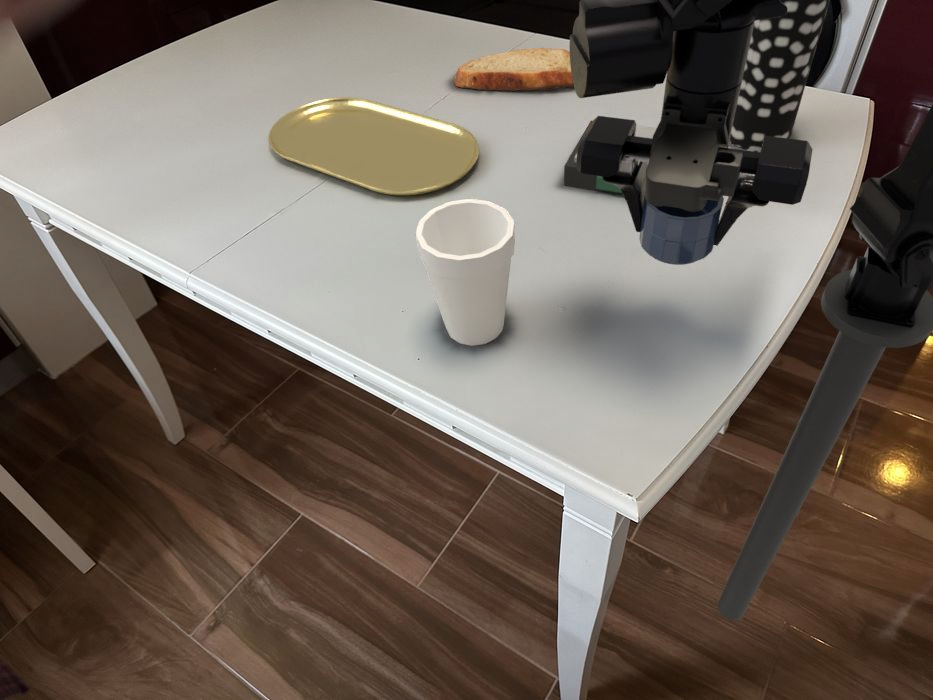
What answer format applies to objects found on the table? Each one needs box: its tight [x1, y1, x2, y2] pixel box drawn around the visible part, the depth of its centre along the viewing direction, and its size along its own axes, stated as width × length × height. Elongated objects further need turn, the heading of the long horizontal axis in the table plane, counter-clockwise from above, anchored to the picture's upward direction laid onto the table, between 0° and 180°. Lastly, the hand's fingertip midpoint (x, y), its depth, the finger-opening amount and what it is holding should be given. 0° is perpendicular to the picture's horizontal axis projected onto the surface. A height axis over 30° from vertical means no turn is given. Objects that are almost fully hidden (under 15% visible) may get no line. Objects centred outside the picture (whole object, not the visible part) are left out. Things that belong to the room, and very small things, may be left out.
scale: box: [563, 120, 657, 196], centre depth 91 cm, size 14×12×4 cm
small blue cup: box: [638, 196, 725, 266], centre depth 64 cm, size 7×7×6 cm
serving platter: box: [268, 96, 480, 196], centre depth 101 cm, size 19×35×2 cm, turn 55°
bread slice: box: [453, 47, 574, 92], centre depth 111 cm, size 18×18×4 cm
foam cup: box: [415, 198, 516, 347], centre depth 70 cm, size 10×9×13 cm
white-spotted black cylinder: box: [729, 0, 831, 150], centre depth 88 cm, size 8×8×20 cm
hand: (676, 236), depth 65 cm, fingers closed on small blue cup, 7 cm apart
